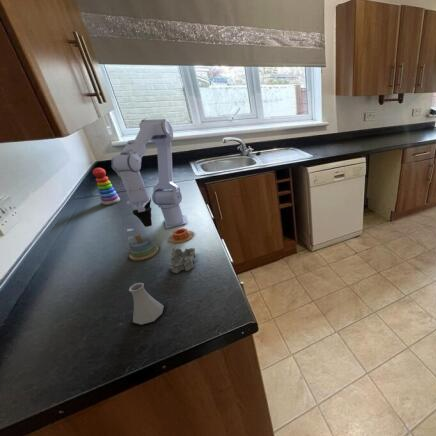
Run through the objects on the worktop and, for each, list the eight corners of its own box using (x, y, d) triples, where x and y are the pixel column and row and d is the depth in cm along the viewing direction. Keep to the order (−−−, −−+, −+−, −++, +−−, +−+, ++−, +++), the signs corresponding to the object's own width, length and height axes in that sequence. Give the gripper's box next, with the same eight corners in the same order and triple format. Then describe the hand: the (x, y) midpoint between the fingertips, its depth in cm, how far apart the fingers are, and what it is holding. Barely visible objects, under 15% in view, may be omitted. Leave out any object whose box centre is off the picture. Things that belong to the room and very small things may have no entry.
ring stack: (130, 251, 101) (122, 233, 98) (158, 243, 105) (151, 226, 102) (129, 263, 94) (121, 245, 91) (159, 255, 98) (152, 237, 95)
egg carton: (175, 256, 98) (172, 247, 96) (198, 253, 99) (195, 243, 97) (168, 275, 88) (164, 265, 86) (193, 270, 90) (190, 260, 88)
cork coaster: (168, 235, 111) (168, 234, 111) (192, 229, 115) (191, 228, 115) (170, 245, 104) (169, 244, 104) (195, 238, 108) (194, 238, 108)
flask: (168, 304, 77) (157, 276, 72) (155, 324, 71) (142, 296, 66) (143, 305, 77) (130, 277, 72) (127, 325, 70) (112, 297, 66)
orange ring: (173, 235, 110) (171, 230, 109) (187, 231, 113) (186, 227, 111) (174, 241, 106) (173, 236, 105) (189, 237, 108) (188, 232, 107)
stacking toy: (99, 206, 138) (83, 171, 129) (106, 200, 145) (91, 166, 136) (117, 204, 140) (102, 169, 131) (122, 198, 147) (109, 164, 138)
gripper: (123, 184, 99) (136, 217, 105) (120, 197, 88) (135, 233, 94) (145, 180, 102) (156, 212, 109) (145, 192, 91) (158, 227, 98)
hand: (148, 221), depth 102 cm, fingers open, 7 cm apart
